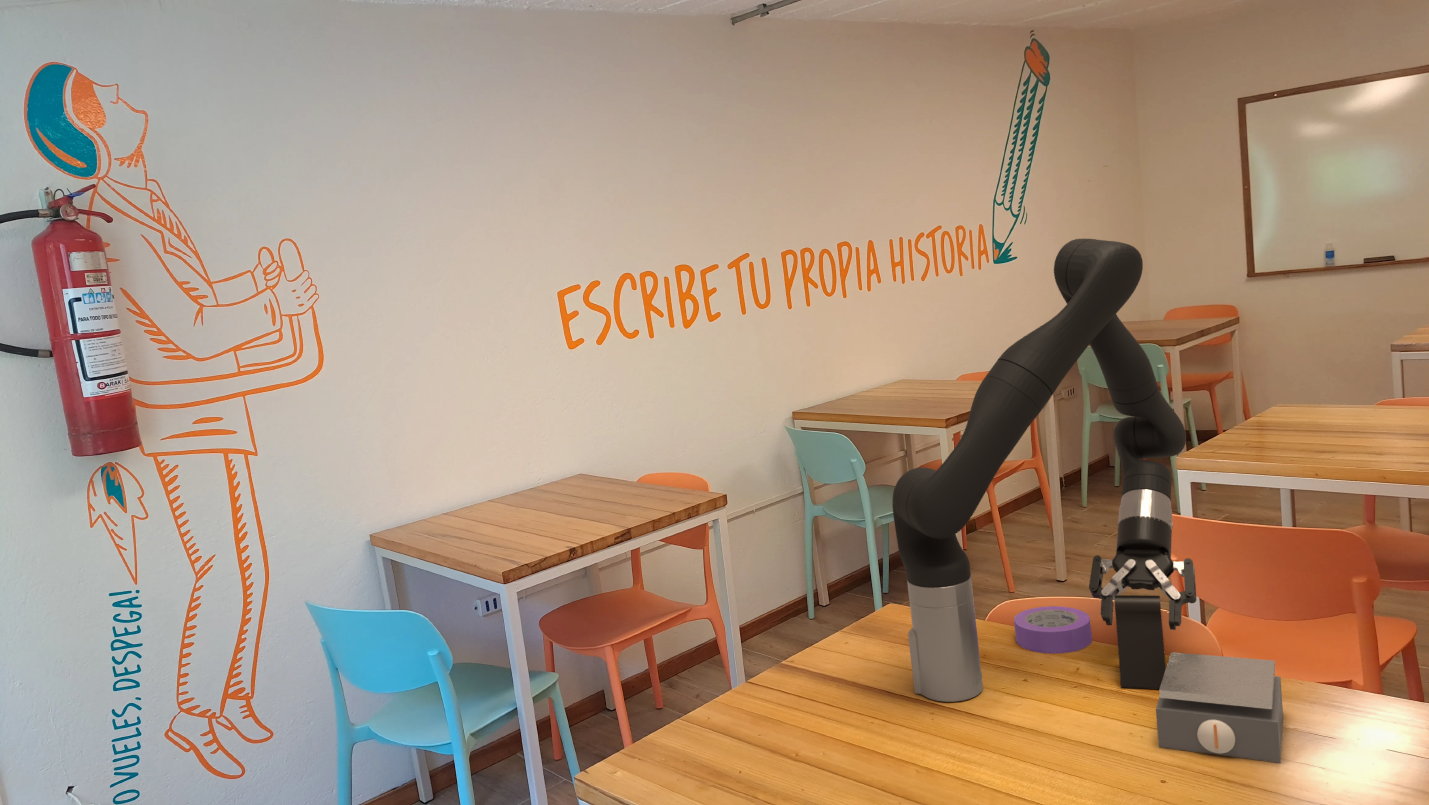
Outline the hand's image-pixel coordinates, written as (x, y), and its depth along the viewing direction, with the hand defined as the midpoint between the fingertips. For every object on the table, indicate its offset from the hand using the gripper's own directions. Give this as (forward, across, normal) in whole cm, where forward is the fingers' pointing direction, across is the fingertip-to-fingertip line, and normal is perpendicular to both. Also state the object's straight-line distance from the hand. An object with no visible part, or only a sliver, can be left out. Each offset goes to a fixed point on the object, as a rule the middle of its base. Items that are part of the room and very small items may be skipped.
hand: (1140, 625), depth 138 cm
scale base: (+16, +11, -5) cm, 20 cm away
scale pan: (+11, +11, -10) cm, 18 cm away
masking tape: (-2, -15, +13) cm, 20 cm away
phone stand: (+6, 0, +5) cm, 8 cm away
